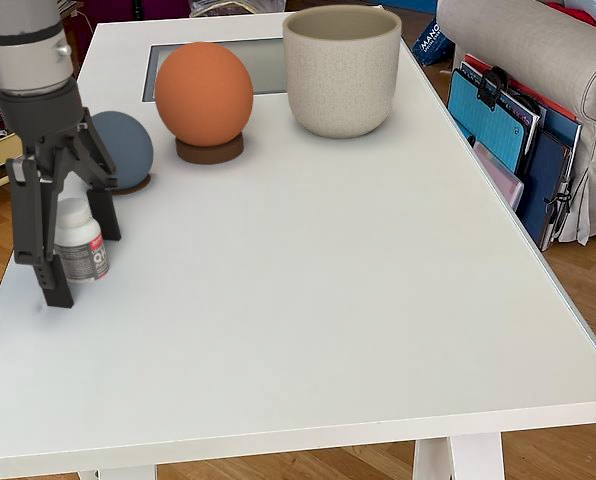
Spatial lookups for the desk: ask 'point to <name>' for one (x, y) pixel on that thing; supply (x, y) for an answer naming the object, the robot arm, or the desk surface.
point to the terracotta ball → (204, 101)
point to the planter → (341, 67)
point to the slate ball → (126, 149)
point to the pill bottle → (79, 242)
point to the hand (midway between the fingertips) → (87, 272)
